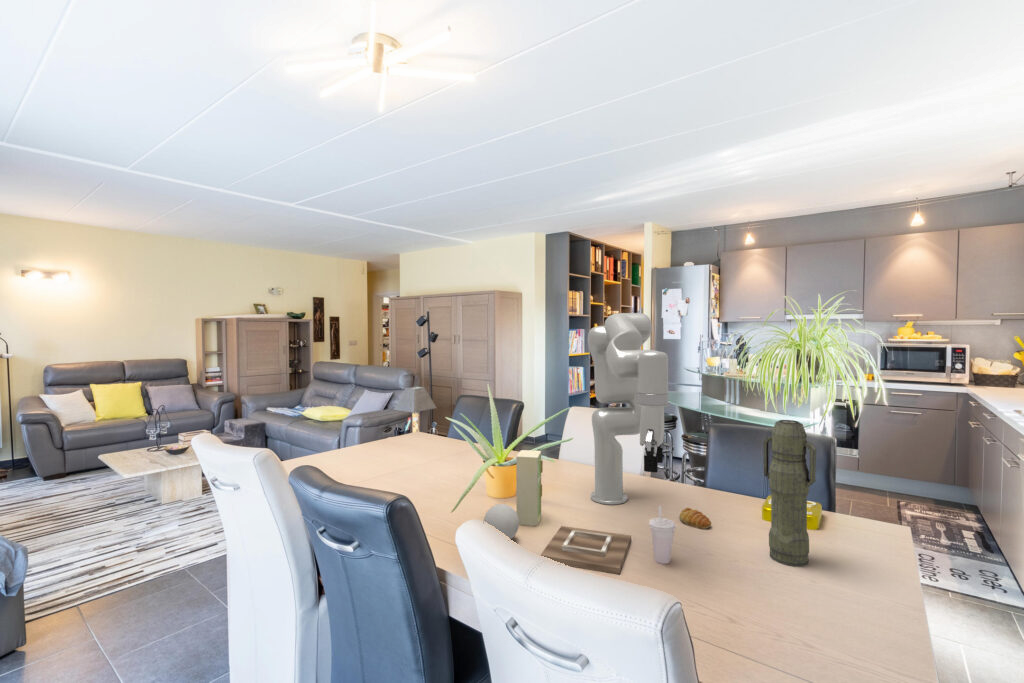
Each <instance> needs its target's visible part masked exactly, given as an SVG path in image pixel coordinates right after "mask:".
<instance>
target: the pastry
mask: <svg viewBox="0 0 1024 683" xmlns="http://www.w3.org/2000/svg"><path fill="white" fill-rule="evenodd" d="M678 516H679V520H680V521H681V522H682V523H684V524H685V525H688V526H690V527H693V528H696V529H703V530H707V529H708V528H711V526H712V521H711V520H710V519H709V517H707V515H706V514H704V513H703V512H702V511H699V510H697V509H693V508H690V507H685V508H683V509H682V510H681V512H680V513H679V515H678Z"/></svg>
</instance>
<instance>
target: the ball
mask: <svg viewBox="0 0 1024 683" xmlns="http://www.w3.org/2000/svg"><path fill="white" fill-rule="evenodd" d="M484 521H485V522H487V523H488V524H490V525H492V526H494V527H495V528H496V529H498V530H499V531H501V532H502V533H504V534H505V535H506V536H508V537H509V538H510V540H511V539H513V538H514V537H515V536H516V535H517V533H518V530H519V527H520V525H519V518H518V515H517V510H515V508H513V507H512V506H510V505H508V504H505V503H504V504H503V503H498V504H495V505H493V506H492V507H490V508H489V509H488V510H487V511H486V512H485V515H484V518H483V522H484Z"/></svg>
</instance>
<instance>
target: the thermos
mask: <svg viewBox="0 0 1024 683" xmlns="http://www.w3.org/2000/svg"><path fill="white" fill-rule="evenodd" d="M769 442H770V443H771V451H772V456H771V462H770V465H769ZM807 449H808V450H809V466H808V465H807V459H806V455H807ZM816 463H817V448H816V447H815V445H814V444H813V443H812V442H808V441H807V432H806V429H805V428H804V424H803V423H801V422H800V421H797V420H793V419H791V420H790V419H779V420H778V421H775V423H774V426H773V428H772V431H771V436H768V437H766V439H765V440H764V441H763V474H764V477H767V479H768V484H769V485H768V486H769V489H770V492H771V493H770V495H771V522H770V526H771V527H770V528H769V529H770V530H769V531H768V547H769V557H770V558H771V560H772V561H774V562H777V563H778V564H781V565H785V566H791V567H805V566H807V565H808V564H809V554H810V538H809V537H810V536H809V533H808V529H807V501H808V500H807V499H808V495H809V493H810V487H811V486H812V485H814V484H815V483H816V470H817V468H816V467H817V466H816V465H817V464H816ZM808 467H809V468H808Z"/></svg>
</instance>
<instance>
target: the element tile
mask: <svg viewBox="0 0 1024 683" xmlns="http://www.w3.org/2000/svg"><path fill="white" fill-rule="evenodd" d="M822 508H823V506H822V503H820V502H817V501H811V500H807V530H811V531H818V530H819V529H820V525H821V521H822V518H823V515H822V513H823V509H822ZM761 519H762V520H763V521H765V522H770V523H771V494H769V495H768V496H767V497H766V499H765V501H764V502H763V504H762V506H761Z"/></svg>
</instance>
